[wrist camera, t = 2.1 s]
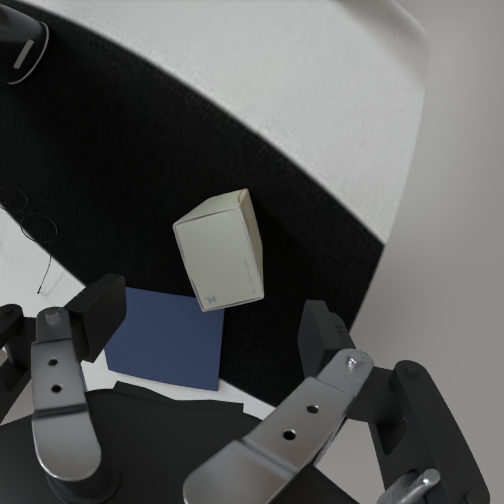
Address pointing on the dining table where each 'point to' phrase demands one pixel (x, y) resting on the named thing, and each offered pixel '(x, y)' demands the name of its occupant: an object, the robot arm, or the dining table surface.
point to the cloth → (167, 340)
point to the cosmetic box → (222, 251)
